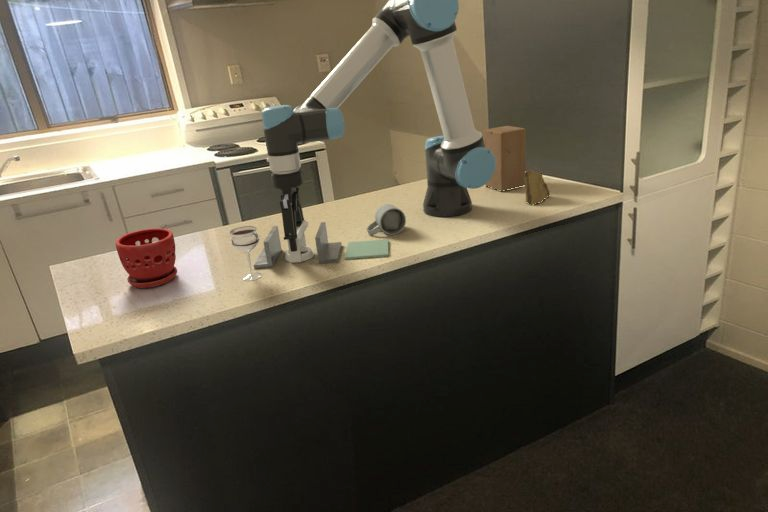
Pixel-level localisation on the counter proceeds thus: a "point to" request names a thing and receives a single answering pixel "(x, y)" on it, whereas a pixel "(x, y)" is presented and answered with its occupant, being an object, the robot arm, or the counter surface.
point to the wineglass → (245, 245)
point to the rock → (535, 187)
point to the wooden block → (507, 156)
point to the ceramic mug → (388, 220)
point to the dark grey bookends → (273, 248)
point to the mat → (367, 249)
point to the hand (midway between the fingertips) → (299, 255)
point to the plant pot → (148, 257)
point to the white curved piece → (302, 249)
